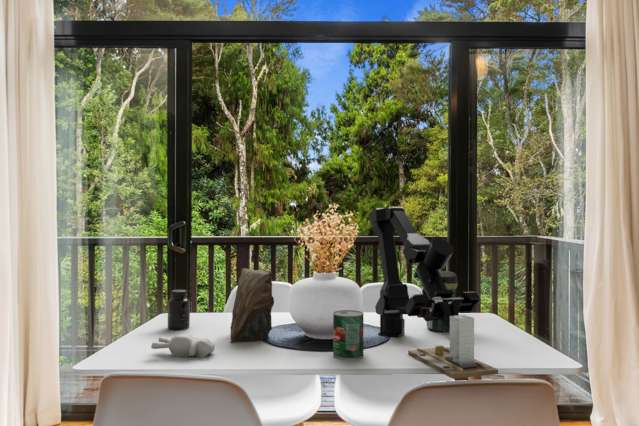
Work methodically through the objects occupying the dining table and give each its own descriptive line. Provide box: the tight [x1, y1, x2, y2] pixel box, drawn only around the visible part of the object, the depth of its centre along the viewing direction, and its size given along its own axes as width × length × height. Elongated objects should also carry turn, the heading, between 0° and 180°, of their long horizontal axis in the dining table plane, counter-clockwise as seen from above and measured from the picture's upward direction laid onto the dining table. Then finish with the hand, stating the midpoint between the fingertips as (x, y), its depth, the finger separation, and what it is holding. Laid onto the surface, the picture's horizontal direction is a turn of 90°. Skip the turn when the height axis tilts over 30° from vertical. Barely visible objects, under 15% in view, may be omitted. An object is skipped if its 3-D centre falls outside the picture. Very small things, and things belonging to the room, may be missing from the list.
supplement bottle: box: [167, 289, 191, 331], centre depth 163 cm, size 7×7×12 cm
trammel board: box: [407, 344, 499, 380], centre depth 125 cm, size 21×12×3 cm, turn 18°
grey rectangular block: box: [445, 314, 479, 368], centre depth 120 cm, size 6×7×11 cm
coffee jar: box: [426, 270, 459, 332], centre depth 163 cm, size 10×8×19 cm
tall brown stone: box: [230, 267, 275, 344], centre depth 151 cm, size 13×13×20 cm
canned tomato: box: [332, 309, 365, 361], centre depth 132 cm, size 8×8×11 cm
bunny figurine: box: [150, 333, 216, 358], centre depth 131 cm, size 10×5×15 cm
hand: (456, 332), depth 122 cm, fingers closed, pressing on grey rectangular block
